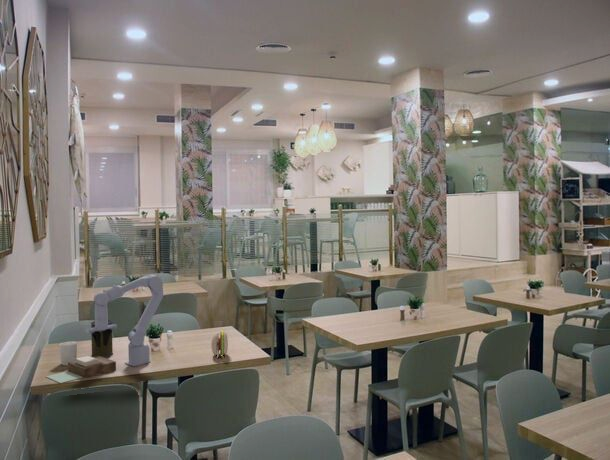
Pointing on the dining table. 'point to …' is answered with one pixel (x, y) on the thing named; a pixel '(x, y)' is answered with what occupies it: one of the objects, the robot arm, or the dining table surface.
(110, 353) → the canister
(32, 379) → the dining table surface
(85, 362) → the card
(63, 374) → the mat
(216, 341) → the hamburger
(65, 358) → the white cup
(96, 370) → the board
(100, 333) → the robot arm
